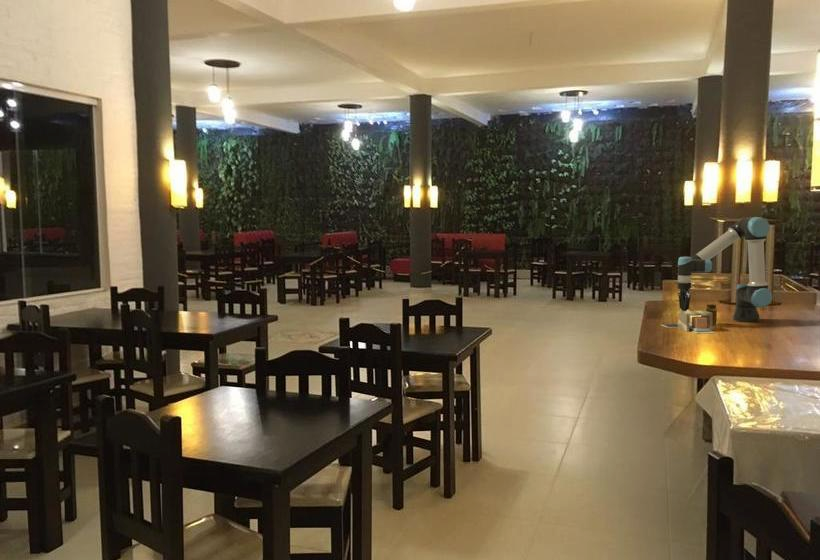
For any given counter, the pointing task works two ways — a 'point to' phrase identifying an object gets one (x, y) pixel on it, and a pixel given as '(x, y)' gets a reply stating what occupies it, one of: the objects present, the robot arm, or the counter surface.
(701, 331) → the mat
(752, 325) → the counter surface
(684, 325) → the tunnel
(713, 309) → the condiment
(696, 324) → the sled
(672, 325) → the pad
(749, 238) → the robot arm
